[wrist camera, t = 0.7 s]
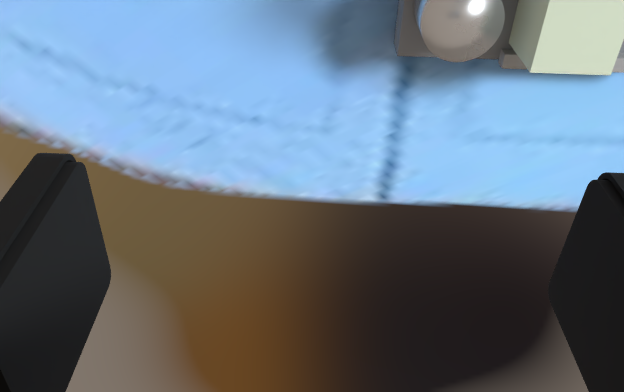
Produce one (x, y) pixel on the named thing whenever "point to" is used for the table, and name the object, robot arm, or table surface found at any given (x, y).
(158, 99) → the table surface
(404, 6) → the panel
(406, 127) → the table surface
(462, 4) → the button
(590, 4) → the slider green
